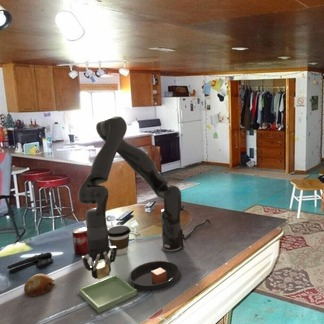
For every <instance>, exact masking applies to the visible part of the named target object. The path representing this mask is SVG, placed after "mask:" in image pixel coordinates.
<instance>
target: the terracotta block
mask: <svg viewBox="0 0 324 324" xmlns="http://www.w3.org/2000/svg"><path fill="white" fill-rule="evenodd" d="M151 275H152V281H153V282H154V283H156V284H159V283H163V282H165V281H167V277H166V271H165V270H163V269H162V268H158V269H156V270H153V271H151Z"/></svg>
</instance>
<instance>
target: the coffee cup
mask: <svg viewBox="0 0 324 324" xmlns="http://www.w3.org/2000/svg"><path fill="white" fill-rule="evenodd" d="M130 233H131V228H130V227H129V226H128V225H116V226H112V227H110V228H108V238H109V245H110V247H112V246H115V247H116V248H117V253H116V256H121V255H125V254H127V253H128V250H129V243H130Z"/></svg>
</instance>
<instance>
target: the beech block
mask: <svg viewBox="0 0 324 324" xmlns="http://www.w3.org/2000/svg"><path fill="white" fill-rule="evenodd" d="M96 270H97V279H96V280H103V279H105V278H108V277H110V276H111V275H110V274H111V272H110V273H109V265H108V264H106V263H105V261H102V262H98V265H97V267H96Z"/></svg>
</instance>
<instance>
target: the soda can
mask: <svg viewBox="0 0 324 324" xmlns="http://www.w3.org/2000/svg"><path fill="white" fill-rule="evenodd" d="M71 234H72V243H73V251H74V255H75V256H78V257H82V256H86V255H87V254H88V251H89V249H88V240H87V227H86V226H85V227H84V226H83V227H77V228H75V229H73V230H72V233H71Z"/></svg>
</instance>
